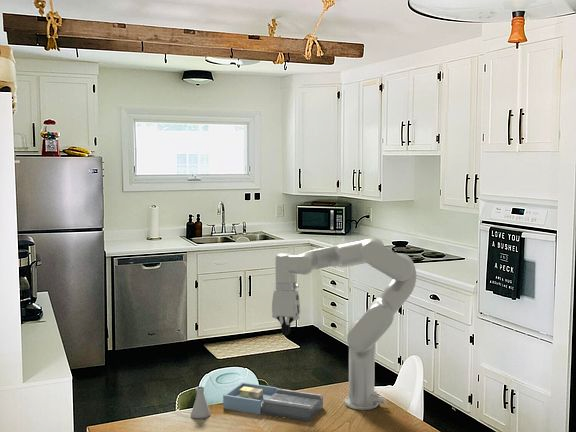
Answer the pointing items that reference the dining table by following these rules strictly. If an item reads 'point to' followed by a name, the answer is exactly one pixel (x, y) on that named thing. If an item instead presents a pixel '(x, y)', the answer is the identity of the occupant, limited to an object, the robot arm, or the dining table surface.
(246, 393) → the olive yellow block
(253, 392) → the beige square block
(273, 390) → the tray
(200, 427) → the dining table surface
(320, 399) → the slot block
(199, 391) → the flask
